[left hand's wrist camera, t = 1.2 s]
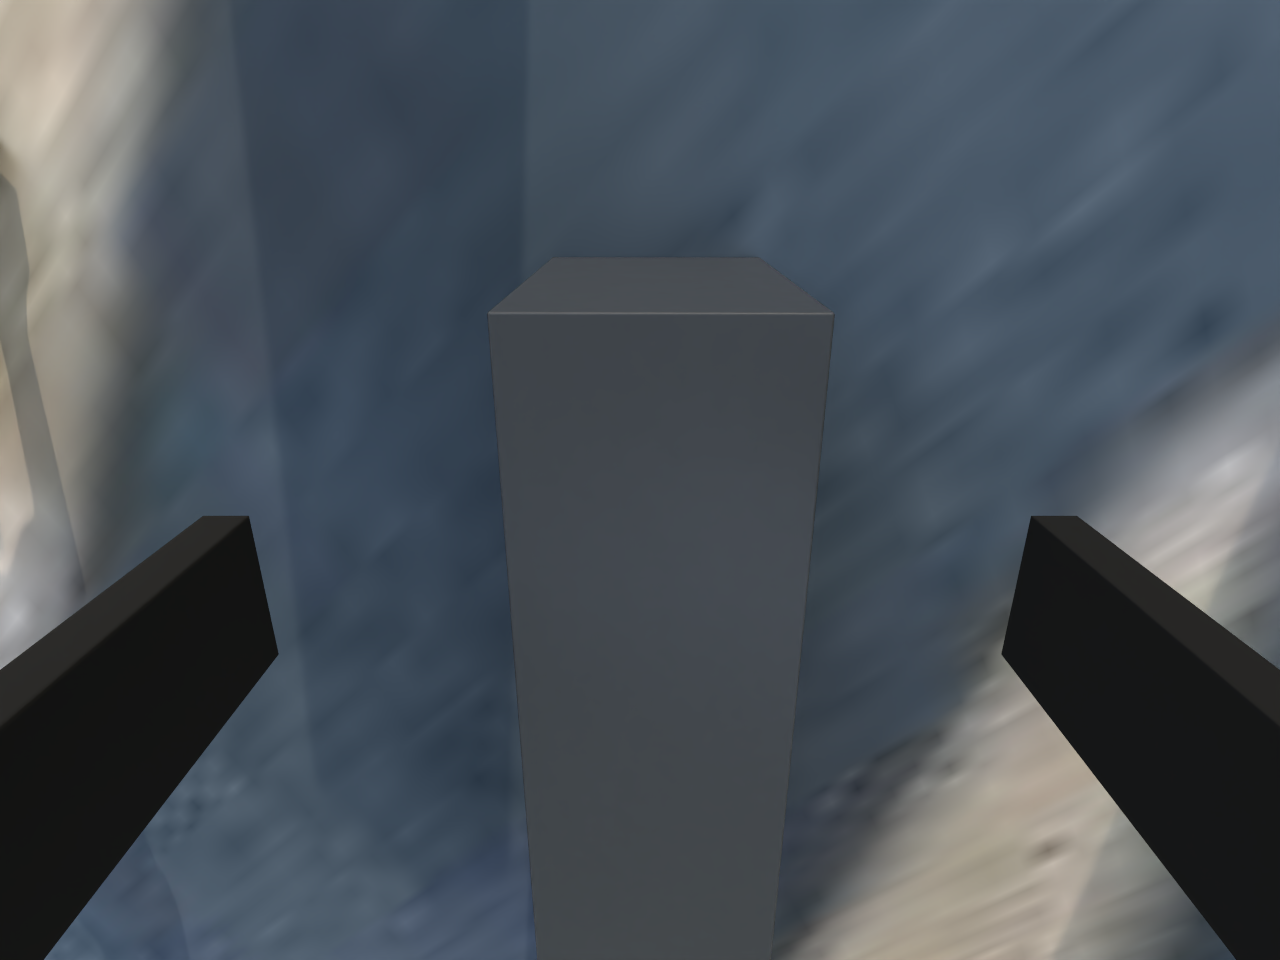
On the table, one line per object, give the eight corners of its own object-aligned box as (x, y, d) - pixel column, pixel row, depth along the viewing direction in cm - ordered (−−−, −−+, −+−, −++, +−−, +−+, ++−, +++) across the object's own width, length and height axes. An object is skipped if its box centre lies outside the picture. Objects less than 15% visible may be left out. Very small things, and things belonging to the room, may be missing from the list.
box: (552, 257, 22) (486, 311, 13) (760, 257, 22) (835, 312, 13) (580, 910, 32) (554, 1187, 23) (721, 912, 32) (748, 1190, 23)
